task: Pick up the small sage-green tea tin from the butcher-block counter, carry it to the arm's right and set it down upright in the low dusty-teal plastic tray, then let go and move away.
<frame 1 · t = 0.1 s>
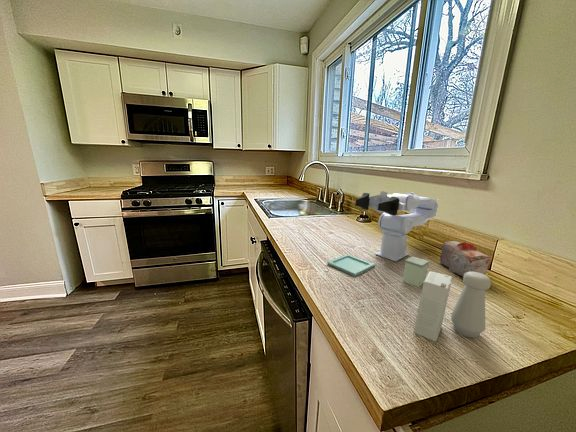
hand: (367, 204, 71), 22 cm above the worktop, tool horizontal, fingers open, 7 cm apart
salt shaker: (465, 331, 50), on the worktop
tray: (350, 265, 79), on the worktop
skincare box: (428, 331, 50), on the worktop
tea tin: (413, 281, 70), on the worktop
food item: (460, 272, 77), on the worktop
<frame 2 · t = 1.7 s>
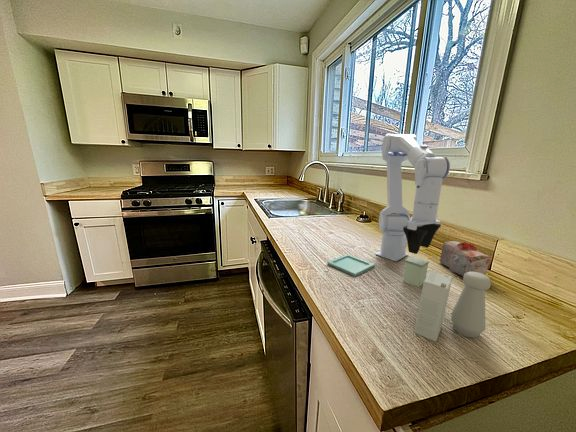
hand: (418, 249, 67), 10 cm above the worktop, tool pointing down, fingers open, 7 cm apart
nothing on the worktop moved.
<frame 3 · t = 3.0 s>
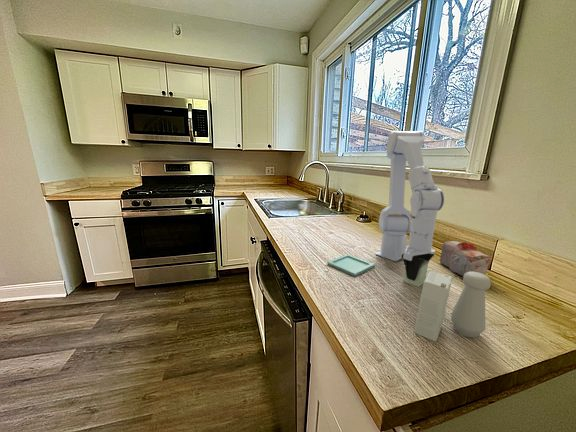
hand: (414, 276, 69), 2 cm above the worktop, tool pointing down, fingers closed on tea tin, 4 cm apart
tea tin: (413, 281, 70), on the worktop, touching gripper
everything else where it was.
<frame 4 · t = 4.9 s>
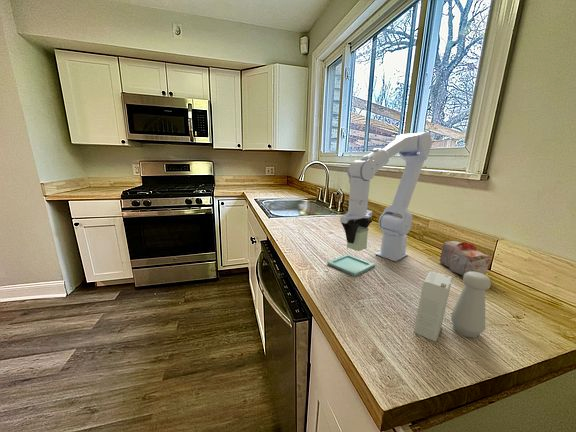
hand: (354, 241, 77), 9 cm above the worktop, tool pointing down, fingers closed on tea tin, 4 cm apart
tea tin: (356, 247, 77), point 7 cm above the worktop, touching gripper
everything else where it was.
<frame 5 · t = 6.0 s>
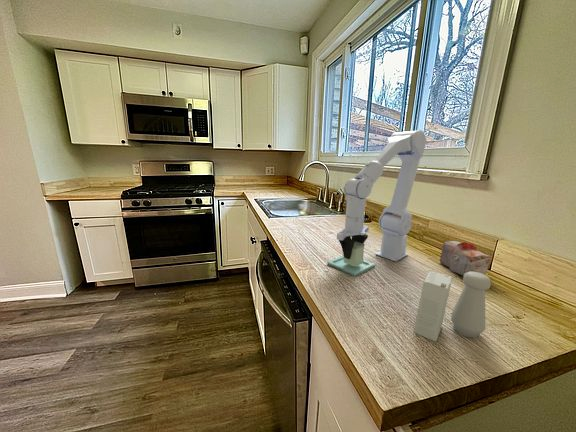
hand: (351, 256, 79), 3 cm above the worktop, tool pointing down, fingers closed on tea tin, 4 cm apart
tea tin: (353, 262, 78), point 1 cm above the worktop, touching gripper
everything else where it was.
when the fingers open (3 cm above the worktop, at t = 7.0 s): tea tin stays where it is, resting on tray.
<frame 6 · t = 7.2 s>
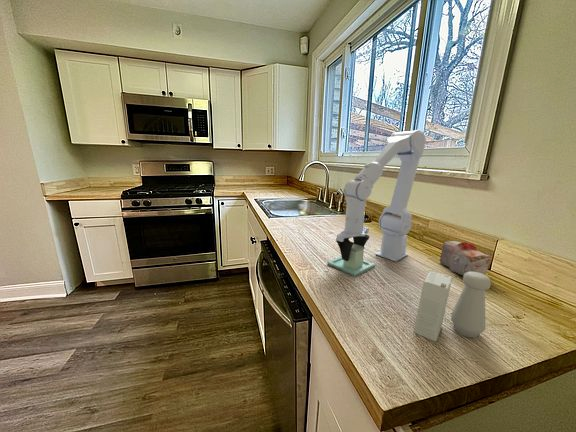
hand: (351, 257, 79), 3 cm above the worktop, tool pointing down, fingers open, 6 cm apart
tea tin: (352, 265, 79), resting on tray
everything else where it was.
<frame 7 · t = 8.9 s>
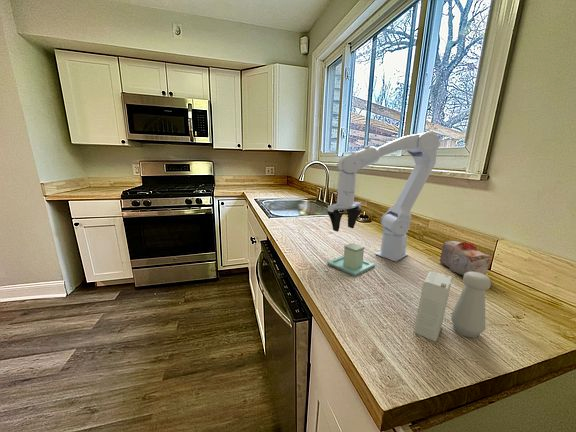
hand: (343, 229, 85), 10 cm above the worktop, tool pointing down, fingers open, 7 cm apart
nothing on the worktop moved.
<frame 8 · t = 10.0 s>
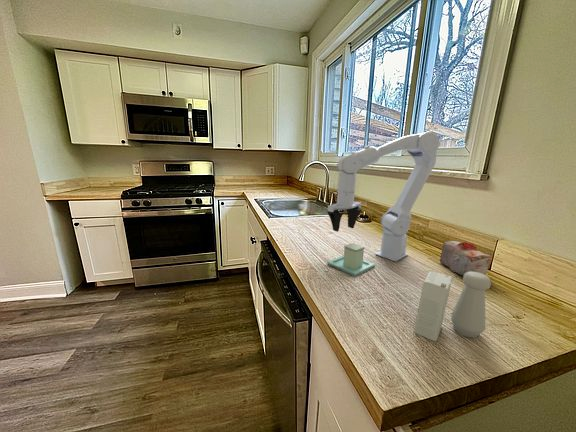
hand: (343, 229, 85), 10 cm above the worktop, tool pointing down, fingers open, 7 cm apart
nothing on the worktop moved.
at the end: tea tin inside the target area on the tray (0.8 cm from its centre), point 0.4 cm above the tray's base; tea tin tilted 0°; the gripper is holding nothing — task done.
